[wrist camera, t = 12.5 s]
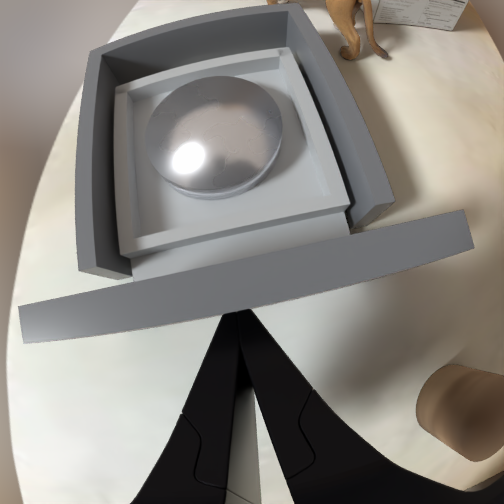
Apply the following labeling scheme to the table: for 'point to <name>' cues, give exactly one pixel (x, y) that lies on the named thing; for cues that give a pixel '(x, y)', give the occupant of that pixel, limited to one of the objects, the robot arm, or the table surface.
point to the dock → (196, 50)
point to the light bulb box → (418, 12)
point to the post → (464, 410)
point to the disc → (215, 137)
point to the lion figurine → (349, 24)
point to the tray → (235, 222)
